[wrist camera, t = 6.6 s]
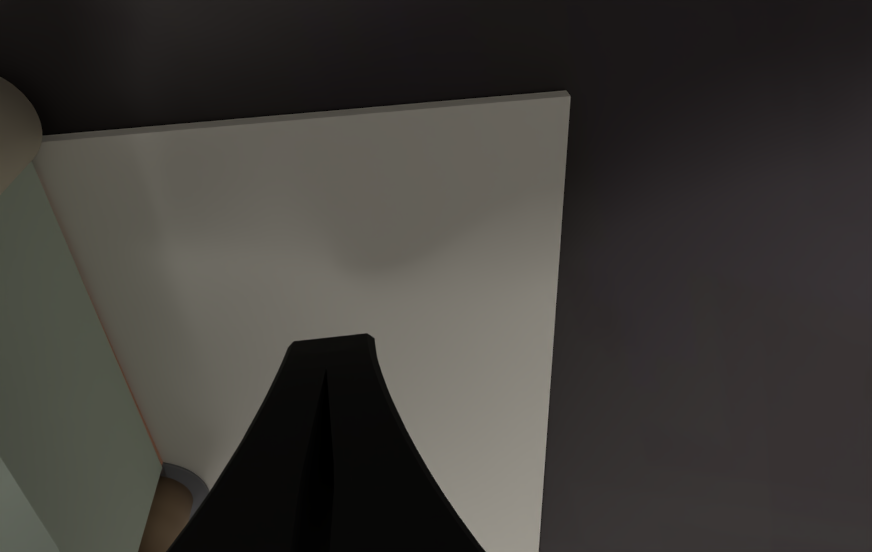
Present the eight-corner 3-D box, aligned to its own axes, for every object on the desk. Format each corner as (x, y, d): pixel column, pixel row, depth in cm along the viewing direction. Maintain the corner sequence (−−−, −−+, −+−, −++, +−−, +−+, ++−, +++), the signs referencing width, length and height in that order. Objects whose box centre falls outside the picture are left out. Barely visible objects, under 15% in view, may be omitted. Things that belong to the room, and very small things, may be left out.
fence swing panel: (179, 465, 16) (129, 654, 12) (102, 473, 16) (30, 667, 12) (16, 62, 10) (-160, 193, 7) (-104, 71, 10) (-350, 209, 7)
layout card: (-80, 689, 21) (-87, 703, 21) (-628, 193, 11) (-658, 205, 11) (532, 608, 22) (534, 620, 22) (566, 90, 12) (572, 97, 12)
